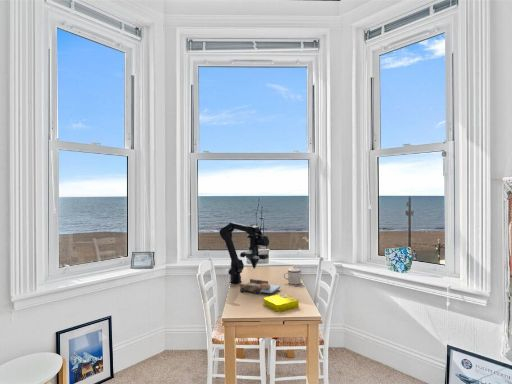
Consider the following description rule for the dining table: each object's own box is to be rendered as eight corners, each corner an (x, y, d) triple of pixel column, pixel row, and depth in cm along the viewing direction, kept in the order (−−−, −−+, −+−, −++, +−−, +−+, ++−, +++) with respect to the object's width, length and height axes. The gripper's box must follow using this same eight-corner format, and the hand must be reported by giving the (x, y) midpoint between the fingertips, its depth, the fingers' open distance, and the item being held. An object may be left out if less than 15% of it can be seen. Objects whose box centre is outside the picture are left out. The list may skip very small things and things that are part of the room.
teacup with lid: (299, 280, 227) (299, 264, 227) (302, 284, 218) (302, 267, 218) (282, 281, 226) (282, 264, 226) (284, 285, 217) (284, 267, 217)
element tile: (261, 305, 179) (261, 296, 179) (283, 300, 187) (283, 292, 187) (277, 313, 166) (277, 304, 166) (300, 307, 174) (300, 299, 175)
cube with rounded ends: (258, 289, 200) (258, 283, 200) (261, 287, 203) (260, 282, 203) (269, 290, 197) (269, 285, 197) (271, 289, 199) (271, 283, 200)
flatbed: (239, 291, 203) (239, 284, 203) (251, 285, 217) (251, 278, 217) (259, 294, 196) (259, 287, 196) (270, 287, 211) (270, 280, 211)
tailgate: (260, 290, 197) (271, 291, 194) (269, 284, 210) (280, 285, 206) (260, 291, 197) (271, 293, 194) (269, 286, 210) (280, 287, 206)
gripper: (235, 245, 212) (235, 269, 212) (261, 247, 203) (261, 272, 203) (244, 243, 222) (244, 265, 222) (268, 245, 213) (268, 268, 213)
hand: (254, 268), depth 215 cm, fingers closed
